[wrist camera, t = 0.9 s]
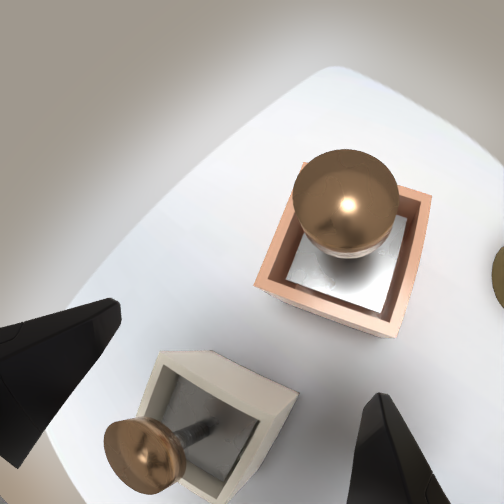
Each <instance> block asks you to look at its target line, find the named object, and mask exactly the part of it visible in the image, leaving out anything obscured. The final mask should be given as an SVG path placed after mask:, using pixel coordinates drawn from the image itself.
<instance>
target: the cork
mask: <svg viewBox="0 0 504 504" xmlns="http://www.w3.org/2000/svg"><path fill="white" fill-rule="evenodd" d="M492 283H493V289H494V292H495V295H496V298H497V299H498V301H499V303H500V304H501V306H502V307H503V308H504V247H502V248H501V249H500V250H499V252H498V253H497V254H496V257H495V260H494V262H493V268H492Z"/></svg>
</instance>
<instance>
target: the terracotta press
mask: <svg viewBox="0 0 504 504" xmlns="http://www.w3.org/2000/svg"><path fill="white" fill-rule="evenodd" d="M307 164H308V163H306V162H303V165H302V168H301V170H302V169H303V168H304V167H305V165H307ZM301 170H300V172H301ZM397 186H398V190H399V206H398V210H397V214H396V215H399V216H402V217H405V218H407V221H406V226H405V230H404V235H403V239H402V243H401V247H400V251H399V254H398V258H397V262H396V265H395V269H394V272H393V276H392V279H391V283H390V286H389V289H388V292H387V295H386V298H385V301H384V304H383V307H382V310H381V313H377V312H374V311H371V310H368V309H365V308H363V307H360V306H357V305H354V304H351V303H348V302H345V301H342V300H340V299H337V298H334V297H331V296H328V295H326V294H323V293H320V292H317V291H314V290H311V289H309V288H306V287H303V286H300V285H298V284H295V283H292V282H289V281H287V280H286V278H287V275H288V273H289V270H290V268H291V265H292V263H293V260H294V258H295V255H296V252H297V250H298V247H299V245H300V242H301V239H302V237H303V234H304V230H303V228H302V226H301V224H300V222H299V220H298V218H297V215H296V213H295V210H294V206H293V200H292V194H293V190H292V192H291V195H290V197H289V200H288V202H287V205H286V207H285V210H284V212H283V215H282V217H281V220H280V222H279V225H278V227H277V229H276V232H275V234H274V237H273V239H272V242H271V244H270V247H269V249H268V251H267V254H266V256H265V259H264V261H263V264H262V266H261V268H260V271H259V273H258V276H257V278H256V280H255V283H254V285H253V286H255V287H257V288H259V289H260V290H262V291H264V292H266V293H268V294H270V295H271V296H273V297H275V298H277V299H279V300H281V301H282V302H285V303H287V304H290V305H292V306H295V307H298V308H300V309H303V310H305V311H308V312H311V313H313V314H316V315H319V316H321V317H324V318H327V319H329V320H332V321H335V322H338V323H340V324H343V325H346V326H349V327H351V328H354V329H357V330H360V331H363V332H366V333H368V334H371V335H374V336H377V337H380V338H396V337H397V334H398V331H399V329H400V326H401V323H402V320H403V317H404V314H405V311H406V308H407V305H408V301H409V298H410V295H411V291H412V288H413V284H414V281H415V277H416V273H417V269H418V265H419V261H420V257H421V253H422V248H423V244H424V239H425V234H426V229H427V224H428V218H429V212H430V206H431V199H432V196H431V195H428V194H425V193H422V192H419V191H416V190H413V189H409V188H406V187H403V186H400V185H397Z"/></svg>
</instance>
